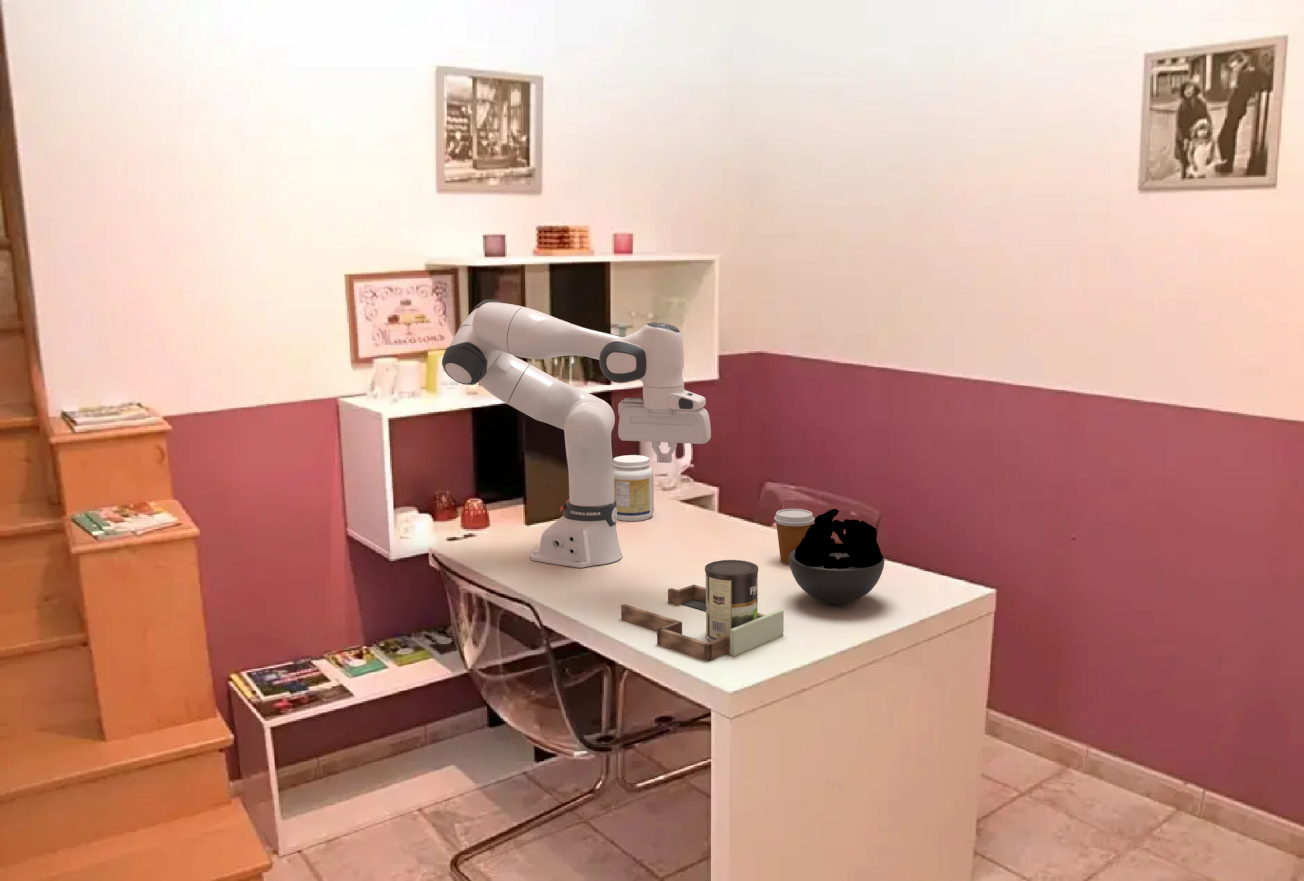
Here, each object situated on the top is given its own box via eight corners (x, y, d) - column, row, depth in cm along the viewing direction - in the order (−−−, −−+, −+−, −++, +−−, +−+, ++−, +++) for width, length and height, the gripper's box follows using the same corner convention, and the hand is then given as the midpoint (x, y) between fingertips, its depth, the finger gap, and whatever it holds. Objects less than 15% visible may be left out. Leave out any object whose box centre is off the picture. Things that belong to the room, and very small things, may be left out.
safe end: (730, 655, 196) (730, 629, 195) (779, 633, 206) (779, 609, 206) (734, 656, 195) (734, 630, 194) (783, 634, 206) (783, 610, 205)
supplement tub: (622, 510, 307) (620, 452, 304) (660, 513, 303) (659, 455, 300) (604, 520, 296) (602, 460, 293) (643, 523, 291) (642, 463, 288)
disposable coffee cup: (793, 569, 248) (793, 520, 246) (765, 560, 255) (766, 512, 253) (822, 562, 253) (822, 513, 251) (794, 553, 261) (794, 506, 259)
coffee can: (759, 628, 210) (759, 560, 207) (756, 647, 200) (756, 575, 197) (707, 626, 211) (707, 558, 209) (702, 644, 201) (702, 573, 199)
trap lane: (603, 625, 212) (603, 611, 212) (686, 595, 230) (686, 582, 229) (712, 662, 192) (712, 647, 192) (794, 627, 210) (794, 612, 209)
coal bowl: (866, 623, 211) (868, 532, 208) (773, 608, 221) (774, 521, 218) (895, 595, 229) (897, 510, 225) (808, 582, 238) (809, 501, 235)
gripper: (613, 399, 226) (614, 462, 228) (705, 402, 220) (705, 467, 222) (622, 395, 232) (624, 457, 234) (712, 398, 226) (713, 461, 228)
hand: (664, 462), depth 228 cm, fingers closed
